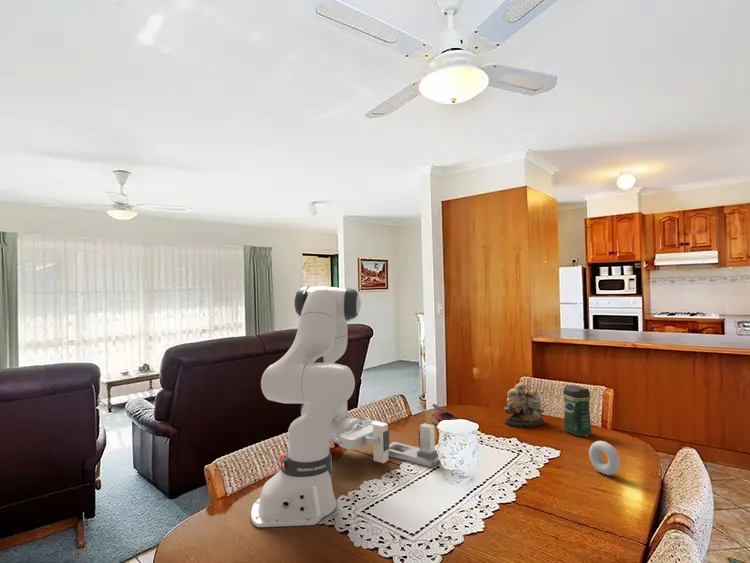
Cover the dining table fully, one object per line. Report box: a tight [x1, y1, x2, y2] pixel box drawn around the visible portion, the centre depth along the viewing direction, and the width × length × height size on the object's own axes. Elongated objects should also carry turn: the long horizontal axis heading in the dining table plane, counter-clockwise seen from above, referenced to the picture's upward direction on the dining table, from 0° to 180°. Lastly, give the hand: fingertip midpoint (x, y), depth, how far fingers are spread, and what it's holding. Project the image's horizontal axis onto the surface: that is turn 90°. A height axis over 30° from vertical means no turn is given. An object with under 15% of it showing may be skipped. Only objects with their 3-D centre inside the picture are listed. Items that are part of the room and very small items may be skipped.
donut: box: [588, 440, 621, 476], centre depth 131 cm, size 10×3×10 cm, turn 23°
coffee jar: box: [562, 384, 592, 437], centre depth 167 cm, size 10×8×19 cm
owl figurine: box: [503, 382, 545, 428], centre depth 181 cm, size 18×12×17 cm, turn 103°
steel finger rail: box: [388, 422, 440, 468], centre depth 147 cm, size 20×8×12 cm, turn 53°
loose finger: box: [372, 421, 390, 464], centre depth 141 cm, size 5×3×12 cm, turn 53°
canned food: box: [431, 403, 456, 426], centre depth 184 cm, size 11×10×10 cm
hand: (382, 439), depth 141 cm, fingers closed on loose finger, 3 cm apart
